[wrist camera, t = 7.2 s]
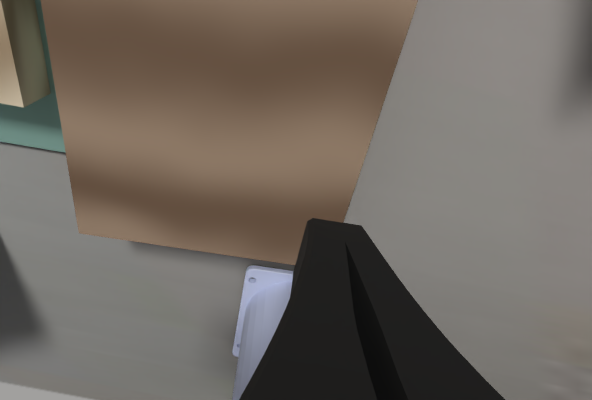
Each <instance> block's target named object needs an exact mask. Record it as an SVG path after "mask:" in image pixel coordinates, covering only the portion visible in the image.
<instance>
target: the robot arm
mask: <svg viewBox="0 0 592 400" xmlns="http://www.w3.org/2000/svg"><path fill="white" fill-rule="evenodd" d="M252 277H253V278H255V279H251V278H252ZM232 354H233V355H234V356H236V357H238V363H237V370H236V377H235V383H234V390H233V397H232V400H505V399H504V398H503V397H502V396H501V395H500V394H499V393H498V392H497V391H496V390H495V389H494V388H493V387H492V386H491V385H490V384H489V383H488V382H487V381H486V380H485V379H484V378H483V377H482V376H481V375H480V374H479V373H478V372H477V371H476V370H475V369H474V367H473V366H472V365H471V364H470V363H469V362H468V361H467V360H466V359H465V358H464V357H463V356H462V355H461V354H460V353H459V352H458V351H457V349H456V348H455V347H454V346H453V345H452V344H451V343H450V342H449V340H448V339H447V338H446V337H445V336H444V335H443V334H442V332H441V331H440V330H439V329H438V328H437V326H436V325H435V324H434V323H433V322H432V320H431V319H430V318H429V317H428V316H427V314H426V313H425V312H424V311H423V310H422V308H421V307H420V306H419V304H418V303H417V302H416V301H415V299H414V298H413V297H412V296H411V294H410V293H409V292H408V290H407V289H406V288H405V286H404V285H403V284H402V282H401V281H400V280H399V278H398V277H397V276H396V274H395V273H394V271H393V270H392V269H391V267H390V266H389V264H388V263H387V262H386V260H385V259H384V257H383V256H382V254H381V253H380V252H379V250H378V249H377V247H376V246H375V244H374V243H373V242H372V240H371V239H370V237H369V236H368V234H367V233H366V231H365V230H364V229H363V227H362V226H360V225H354V224H348V223H341V222H335V221H329V220H323V219H316V218H312V219H310V220H308V221H307V224H306V227H305V231H304V235H303V238H302V242H301V246H300V249H299V253H298V257H297V261H296V264H295V268H294V271H289V270H283V269H276V268H269V267H262V266H255V265H252V266H249V267H248V268H247V269H246V274H245V280H244V286H243V292H242V298H241V304H240V309H239V315H238V321H237V327H236V333H235V339H234V345H233V351H232Z"/></svg>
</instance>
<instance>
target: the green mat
mask: <svg viewBox="0 0 592 400" xmlns="http://www.w3.org/2000/svg"><path fill="white" fill-rule="evenodd" d="M35 4H36V10H37V16H38V22H39V28H40V33H41V39H42V45H43V51H44V57H45V63H46V69H47V75H48V81H49V87H50V93H51V94H49V95H47V96H45V97H43V98H41V99H39V100H37V101H35V102H34V103H32V104H30V105H28V106H26V107H18V106H13V105H7V104H2V103H0V142H6V143H12V144H18V145H24V146H30V147H36V148H42V149H47V150H53V151H59V152H65V153H66V151H65V145H64V139H63V133H62V127H61V121H60V115H59V109H58V103H57V97H56V91H55V85H54V79H53V73H52V67H51V60H50V54H49V48H48V42H47V36H46V30H45V24H44V18H43V12H42V6H41V0H35Z"/></svg>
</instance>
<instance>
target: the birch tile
mask: <svg viewBox="0 0 592 400" xmlns="http://www.w3.org/2000/svg"><path fill="white" fill-rule="evenodd" d="M49 94H51V93H50V87H49V81H48V75H47V69H46V63H45V57H44V51H43V45H42V39H41V33H40V28H39V22H38V16H37V10H36V4H35V0H0V103H2V104H7V105H13V106H18V107H26V106H28V105H30V104H32V103H34V102H35V101H37V100H39V99H41V98H43V97H45V96H47V95H49Z"/></svg>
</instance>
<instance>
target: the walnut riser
mask: <svg viewBox="0 0 592 400" xmlns="http://www.w3.org/2000/svg"><path fill="white" fill-rule="evenodd" d="M417 2H418V0H41V6H42V12H43V18H44V24H45V30H46V36H47V42H48V48H49V54H50V60H51V67H52V73H53V79H54V85H55V91H56V97H57V103H58V109H59V115H60V121H61V127H62V133H63V139H64V145H65V151H66V158H67V164H68V170H69V176H70V182H71V188H72V194H73V200H74V206H75V212H76V218H77V224H78V230H79V233H81V234H87V235H94V236H101V237H108V238H114V239H121V240H128V241H135V242H141V243H148V244H155V245H162V246H169V247H175V248H182V249H189V250H196V251H202V252H209V253H216V254H223V255H229V256H236V257H243V258H250V259H256V260H263V261H270V262H277V263H284V264H290V265H295V264H296V261H297V257H298V253H299V249H300V246H301V242H302V238H303V235H304V231H305V227H306V224H307V221H308V220H310V219H312V218H316V219H323V220H329V221H335V222H341V223H343V222H344V219H345V216H346V213H347V210H348V207H349V204H350V201H351V198H352V195H353V192H354V189H355V186H356V183H357V180H358V177H359V174H360V171H361V168H362V165H363V162H364V159H365V156H366V153H367V150H368V147H369V144H370V141H371V139H372V136H373V133H374V130H375V127H376V124H377V121H378V118H379V115H380V112H381V109H382V106H383V103H384V100H385V97H386V94H387V91H388V88H389V85H390V82H391V79H392V76H393V73H394V70H395V67H396V64H397V61H398V58H399V55H400V53H401V50H402V47H403V44H404V41H405V38H406V35H407V32H408V29H409V26H410V23H411V20H412V17H413V14H414V11H415V8H416V5H417Z"/></svg>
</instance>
